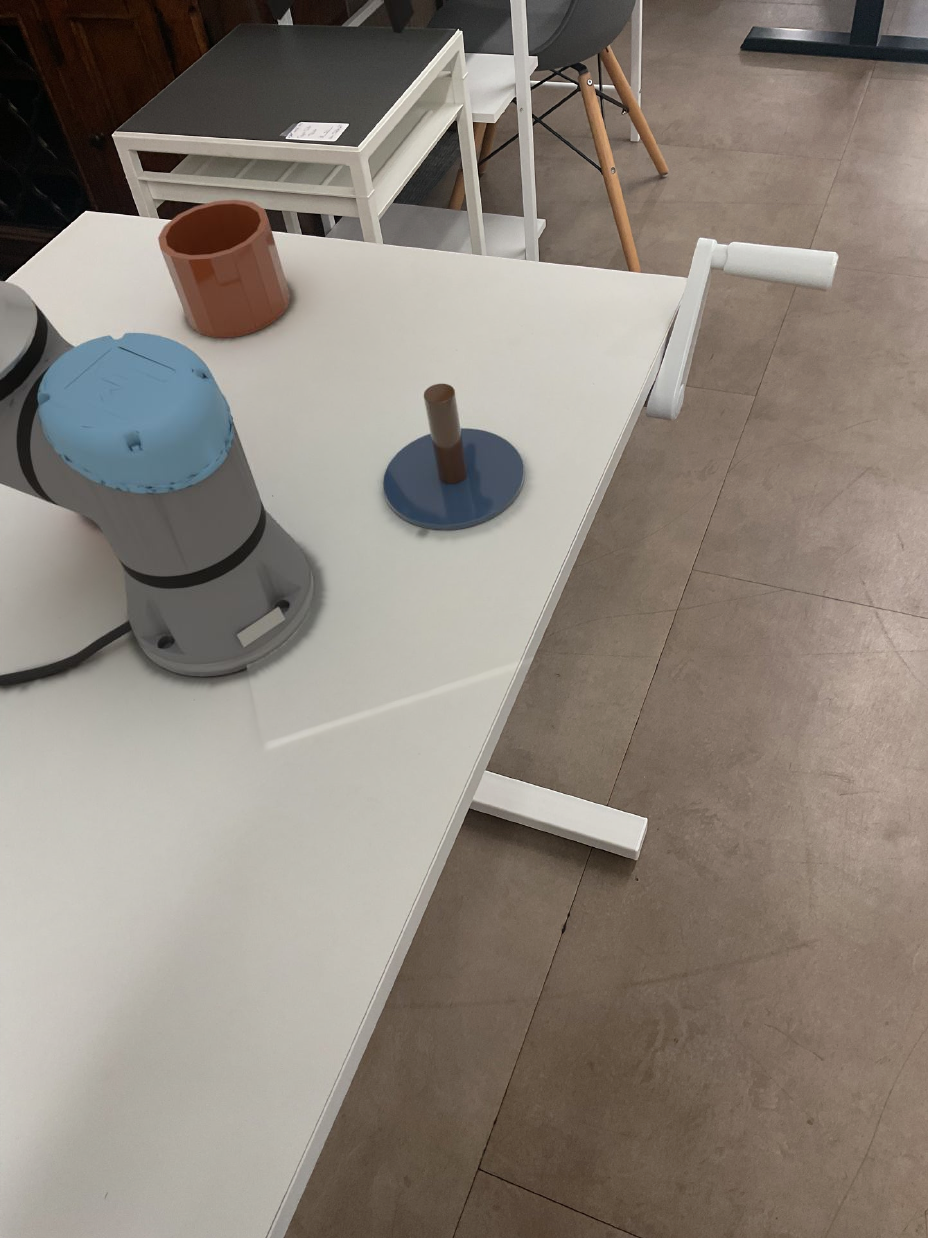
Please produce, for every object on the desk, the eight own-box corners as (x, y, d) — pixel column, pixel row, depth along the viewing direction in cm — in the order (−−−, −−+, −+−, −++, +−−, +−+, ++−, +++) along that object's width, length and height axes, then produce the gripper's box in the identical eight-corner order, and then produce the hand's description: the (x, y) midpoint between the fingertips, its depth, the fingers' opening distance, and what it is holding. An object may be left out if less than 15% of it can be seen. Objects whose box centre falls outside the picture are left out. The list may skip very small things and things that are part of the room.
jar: (195, 349, 109) (164, 270, 102) (182, 294, 116) (153, 217, 109) (298, 320, 110) (276, 240, 103) (279, 267, 118) (257, 189, 110)
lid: (405, 552, 86) (384, 462, 78) (371, 461, 94) (348, 371, 86) (544, 509, 87) (537, 416, 79) (498, 423, 95) (488, 331, 87)
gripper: (408, -287, 72) (476, -1, 90) (146, -277, 81) (257, -21, 100) (358, -221, 69) (439, 57, 88) (96, -220, 79) (218, 31, 98)
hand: (342, 16), depth 94 cm, fingers open, 13 cm apart
